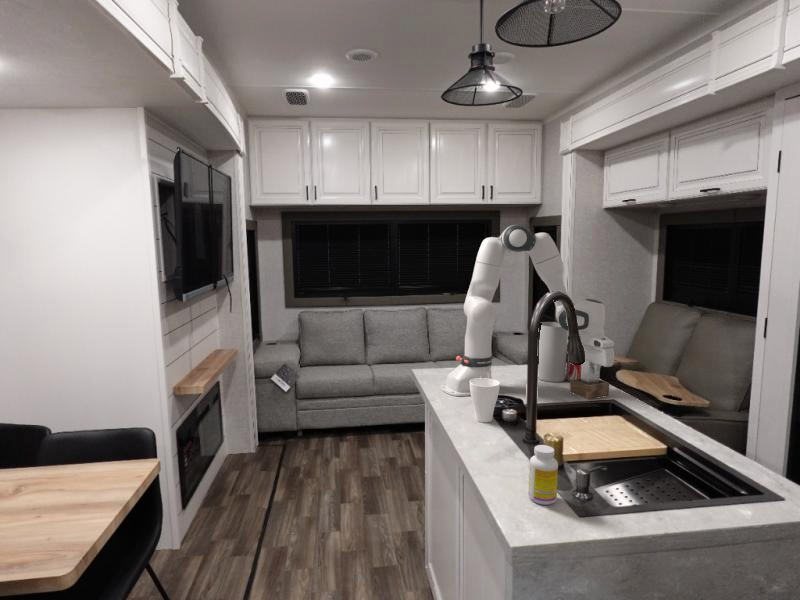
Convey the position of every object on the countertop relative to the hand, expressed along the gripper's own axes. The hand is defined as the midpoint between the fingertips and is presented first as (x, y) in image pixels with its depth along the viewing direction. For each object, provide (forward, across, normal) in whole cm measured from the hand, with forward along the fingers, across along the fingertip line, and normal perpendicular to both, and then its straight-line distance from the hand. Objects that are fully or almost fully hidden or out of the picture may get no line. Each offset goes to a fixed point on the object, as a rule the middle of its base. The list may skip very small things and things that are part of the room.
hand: (590, 372), depth 204 cm
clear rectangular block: (+5, 0, 0) cm, 5 cm away
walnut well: (+9, 0, 0) cm, 9 cm away
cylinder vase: (+9, -24, +1) cm, 26 cm away
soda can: (+9, -18, +9) cm, 22 cm away
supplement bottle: (+9, +58, -73) cm, 94 cm away
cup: (+9, +7, -56) cm, 57 cm away
